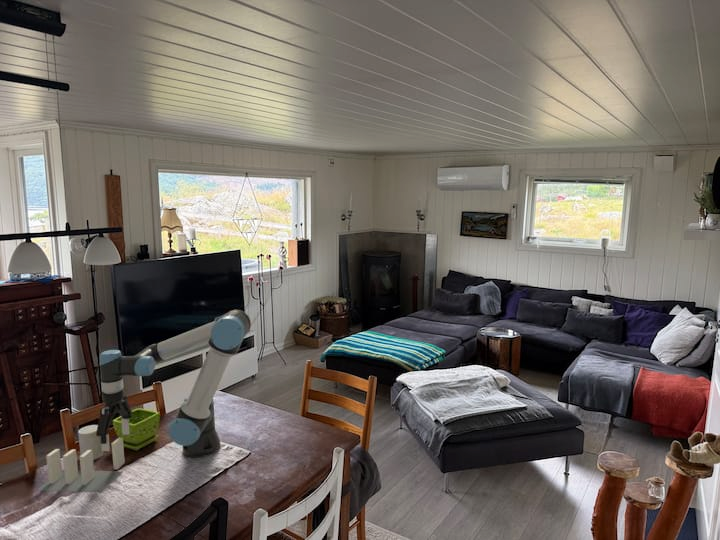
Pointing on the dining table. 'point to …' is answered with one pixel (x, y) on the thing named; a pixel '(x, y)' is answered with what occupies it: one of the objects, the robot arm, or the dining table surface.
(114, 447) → the domino
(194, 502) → the dining table surface
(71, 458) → the domino
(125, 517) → the dining table surface
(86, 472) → the domino
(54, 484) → the mat
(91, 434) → the white upright cylinder
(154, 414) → the flower pot
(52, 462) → the domino
